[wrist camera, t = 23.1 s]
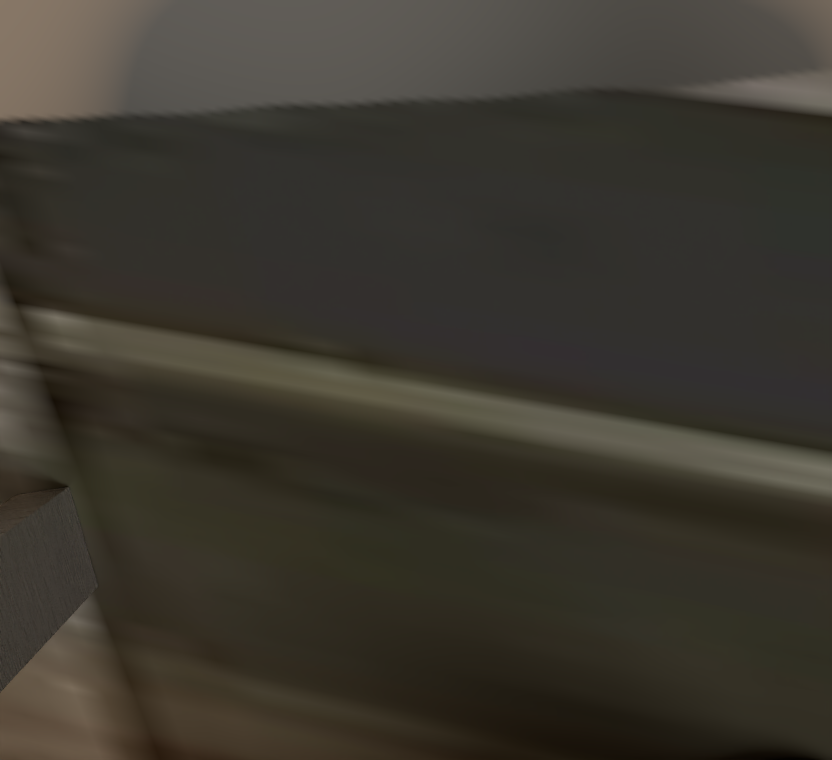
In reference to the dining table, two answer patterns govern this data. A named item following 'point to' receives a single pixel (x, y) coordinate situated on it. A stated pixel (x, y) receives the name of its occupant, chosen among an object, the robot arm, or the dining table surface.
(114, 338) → the dining table surface
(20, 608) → the housing
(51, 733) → the dining table surface
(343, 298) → the dining table surface
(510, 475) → the dining table surface
